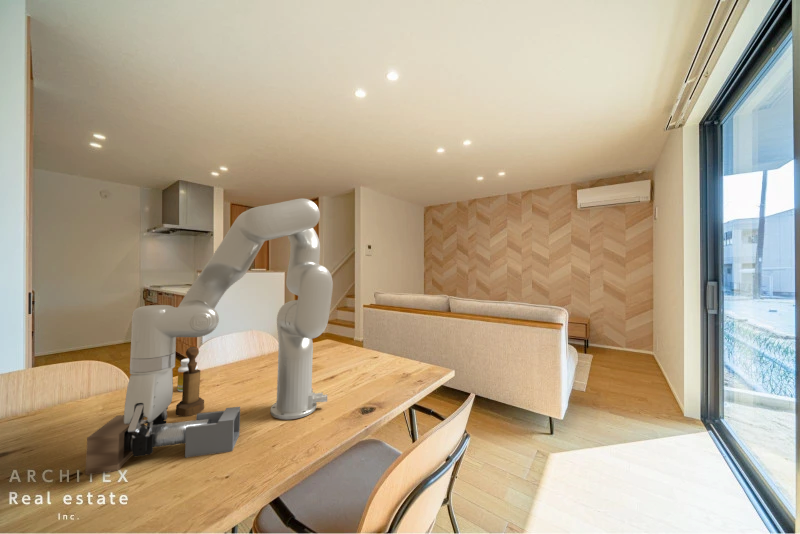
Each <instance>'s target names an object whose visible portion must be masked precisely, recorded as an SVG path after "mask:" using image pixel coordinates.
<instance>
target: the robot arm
mask: <svg viewBox="0 0 800 534" xmlns="http://www.w3.org/2000/svg"><path fill="white" fill-rule="evenodd" d="M320 219H321V212H320V209H319V207H318V205H317V204H316V203H315V202H314V201H313V200H311V199H309V198H295V199H290V200H284V201H282V202H276V203H271V204H266V205H259V206H255V207H252V208H249V209H247V210H245V211H243V212H242V213H241V214H239V215H238V216H237V217H236V219H235V220H234V222H233V223H232V224H231V226H230V228H229V229H228V231H227V233H226V234H225V236H224V238H223V239H222V241H221V242H220V244H219V246H217V248H216V250H215V251H214V253H213V254H212V256H211V258H210V259H209V260H208V261H207V263H206V264H205V266H204V267H203V269H202V270H201V272H200V273H199V275H198V276H197V277H196V279H194V282H193V283H192V284H191V286H190V288H188V291H187V292H186V293H185V295H184V297H183V298H182V300H181V301H180V303H179V305H178V306H177V307H176V306H175V307H174V306H173V305H170V304H169V305H168V304H154V305H153V304H152V305H143V306H140V307H136V308H135V309H134V310H133V311H132V314H131V315H132V316H131V337H130V339H131V340H130V341H131V342H130V361H129V374H130V376H129V380H128V384H127V388H126V393H125V402H124V411H123V415H124V424H125V425H128V424H130V426H129V429H128V432H129V433H131V434H132V435H133V436H132V438H134V439H133V455H132V456H133V457H134V458H135V457H142V456H143V457H144V456H150V455H151V454H152V453H153V452H154V447H153V436H154V434H151V432H152V426H153V425H156V424H166V423H167V420H168V419H167V418H168V409H169V406H170V405H171V404H172V400H173V394H174V393H173V392H174V382H173V381H174V377H173V376H174V375H173V374H174V373H173V369H174V368H175V367H176V349H177V348H176V346H177V338H200V337H205V336H207V335H209V334H212V332H214V331H215V330H216V329H217V328H218V325H219V323H220V322H219V321H220V318H219V314H218V312H217V310H215V308H216V307H217V305H218V303H219V302H220V300H221V299H222V297H224V295H225V293H226V292H227V291H228V289H230V287H232V286H233V285H234V284H235V283H237V282H239V281H240V280H241V279H242V278H243V277H245V275H246V274H247V273H248V271H249V269H250V267H251V265H252V264H253V262H254V260H255V258H256V257H257V255H258V253H259V252H260V250H261V248H262V246H264V243H265V242H266V241H271V240H274V239H279V238H282V237H283V238H284V237H286V236H287V238H288V241H289V243H290V244H289V245H290V251H289V252H290V254H289V261H288V266H287V273H286V281H285V285H286V288H287V289H288V292H289V293H291V294H293V295H295V296H297V299H294V300H290V301H287V302H286V303H283V305H282V306H281V307H280V308H279V310H278V312H277V316H276V328H277V337H278V338H277V340H278V341H277V342H278V349H277V350H278V351H277V352H278V356H277V385H276V402H275V403H273V404H272V405H271V407H270V415H271V416H272V417H273V418H275V419H278V420H296V419H300V418H304V417H306V416H309V415H310V414H312V413H314V412H315V411H316V409H317V403H326V402H328V394H324V393H323V392H313V390H314V388H313V358H314V357H313V353H314V343H313V339H315V338H318V337H320V336H321V335H322V334H323V333H324V332H325V330H326V328H327V326H328V323H329V319H330V311H331V306H332V305H331V303H332V297H333V289H334V288H333V287H334V282H333V277H332V274H331V272H330V271H329V269H328V268H327V267H326V266H324V265H322V264H320V260H321V242H320V239H319V235H318V234H317V231H316V230H315V229H314V228H315V227H316V226H317V224H319V222H320ZM142 418H144V420H142ZM145 418H147V419H145ZM140 424H144V425H146V426H147V429H146V428H145V427H141V425H140Z"/></svg>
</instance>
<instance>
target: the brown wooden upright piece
mask: <svg viewBox="0 0 800 534" xmlns="http://www.w3.org/2000/svg"><path fill="white" fill-rule="evenodd" d="M199 352H200V350H199V348H198V347H197V346H191V347H188V348H187V349H186V351H185V355H186V357H187V358H189V363H188V364H187V366H188V369H189V370H188V371H185V372H184V373H183V392H182V396H181V401H179V402H178V403H177V404H176V405H175V415H176V416H178V417H189V416H190V417H191V416H194V415H197V414H198V413H202V412H203V411H204V409H205V400H204V399H203V398H201V396H200V387H201V369H198V370H195V369H196V366H198V365H197V364H198V361H197V362H196V361H195V359H196V358H197V357H198V355H199ZM196 360H197V359H196Z"/></svg>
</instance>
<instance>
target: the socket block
mask: <svg viewBox="0 0 800 534" xmlns="http://www.w3.org/2000/svg"><path fill="white" fill-rule="evenodd" d="M142 420H145V417H144V418H142ZM129 426H130V424H128V425H125V424H124V414H122V415H121V414H119V415H116V416H114V417H113V418H112V419H110V420H109V421H108V422H106V423H105V424H104V425H102V426H101V427H100V428H98V429H96V430H95V432H93V433H92V434H90V435H89V436H87V437H86V458H85V476H88V475H92V474H93V475H94V474H101V473H107V472H115V471H118V470H120V468H121V467H123V465H124V464H125V463H126V462H127V461H129V459H130V458H131V457H132V456H133V452H130V450H129V451H124V433H125V432H126V431H127V430H128V429H129Z"/></svg>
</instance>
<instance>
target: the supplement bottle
mask: <svg viewBox="0 0 800 534" xmlns="http://www.w3.org/2000/svg"><path fill="white" fill-rule="evenodd" d="M196 360H197V359H195V361H196ZM188 363H189V358H188V357H187V358H183V359H181V360H180V366H179V367H178V369H177V387H176V388H177V392H180V393H181V392H182V393H183V373H184V372H185V371H188V370H189V369H188V366H187V364H188ZM198 367H199V366H198V365H197V366H196V369H195V370H199V368H198Z"/></svg>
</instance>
